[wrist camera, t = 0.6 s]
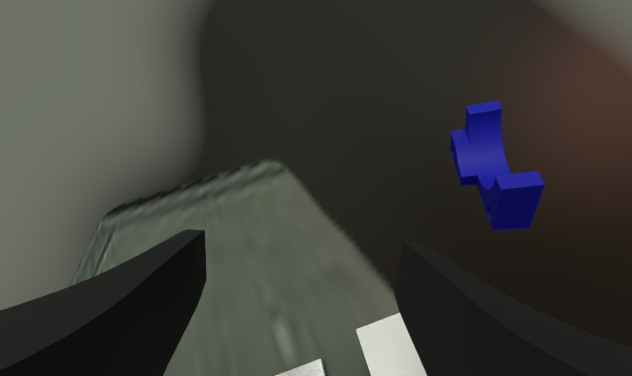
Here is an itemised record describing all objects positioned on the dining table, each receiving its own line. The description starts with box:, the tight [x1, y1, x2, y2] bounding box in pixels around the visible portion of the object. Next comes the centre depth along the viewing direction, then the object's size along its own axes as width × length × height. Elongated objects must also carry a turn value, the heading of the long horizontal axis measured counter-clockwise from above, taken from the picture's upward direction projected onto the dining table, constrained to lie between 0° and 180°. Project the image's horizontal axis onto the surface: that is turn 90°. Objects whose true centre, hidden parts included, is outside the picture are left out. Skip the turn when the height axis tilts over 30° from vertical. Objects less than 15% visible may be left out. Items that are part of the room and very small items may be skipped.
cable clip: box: [450, 101, 545, 231], centre depth 30 cm, size 12×4×6 cm, turn 174°
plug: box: [356, 313, 427, 376], centre depth 20 cm, size 4×4×7 cm
